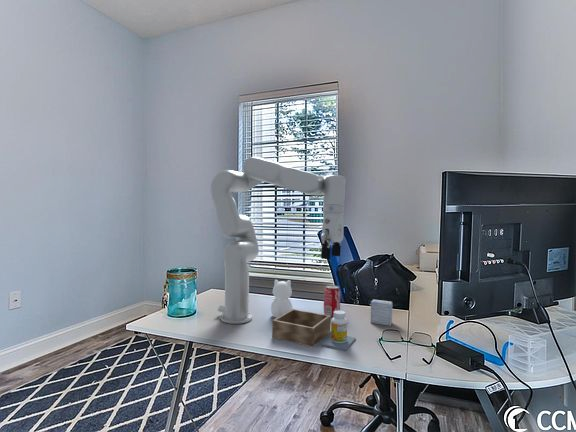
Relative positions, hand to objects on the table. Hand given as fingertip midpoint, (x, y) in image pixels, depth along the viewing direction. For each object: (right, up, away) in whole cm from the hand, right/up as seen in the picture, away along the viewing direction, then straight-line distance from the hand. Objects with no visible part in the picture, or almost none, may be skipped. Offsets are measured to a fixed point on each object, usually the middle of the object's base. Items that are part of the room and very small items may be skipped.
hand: (330, 257), depth 121 cm
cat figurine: (-18, -27, +19) cm, 38 cm away
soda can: (+3, -28, +23) cm, 36 cm away
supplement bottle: (+2, -28, -7) cm, 29 cm away
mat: (+2, -28, -7) cm, 29 cm away
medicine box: (+22, -28, +13) cm, 38 cm away
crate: (-10, -28, -1) cm, 29 cm away
